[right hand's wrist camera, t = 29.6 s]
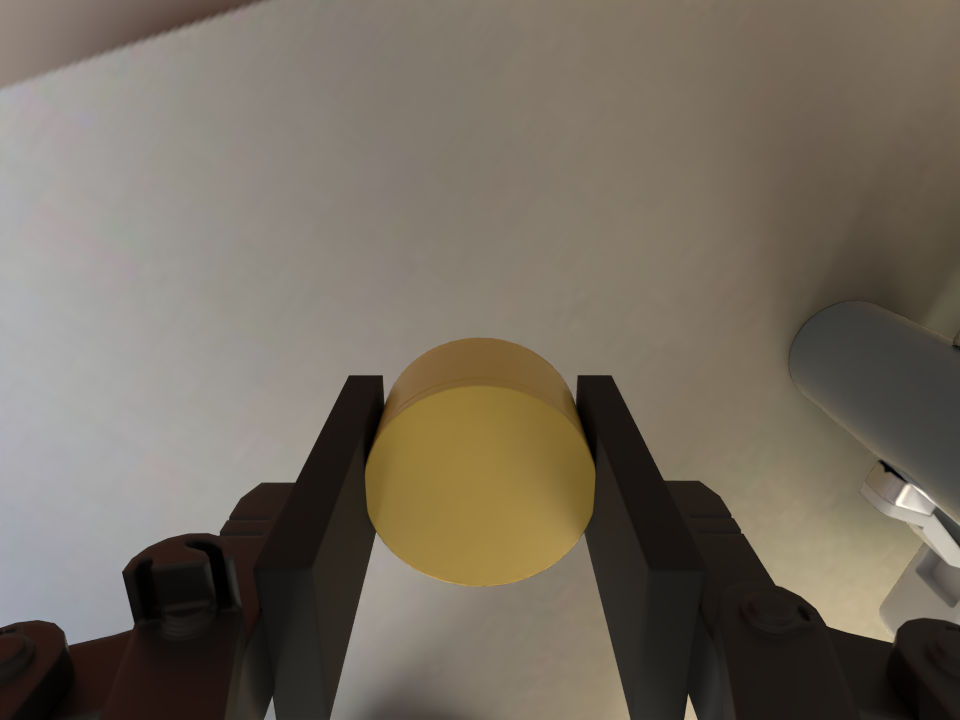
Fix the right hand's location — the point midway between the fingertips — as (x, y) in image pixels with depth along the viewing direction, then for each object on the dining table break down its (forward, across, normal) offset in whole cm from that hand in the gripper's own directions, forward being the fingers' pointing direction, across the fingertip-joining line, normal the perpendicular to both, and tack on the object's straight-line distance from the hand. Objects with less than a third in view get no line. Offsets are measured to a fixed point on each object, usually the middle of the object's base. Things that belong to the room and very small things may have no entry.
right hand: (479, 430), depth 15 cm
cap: (0, 0, 0) cm, 0 cm away
